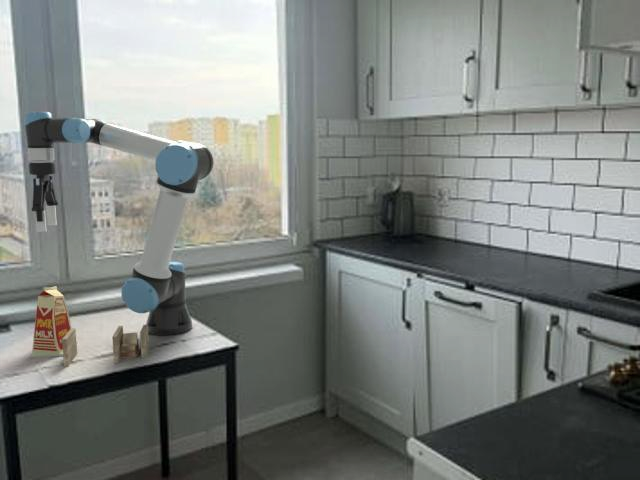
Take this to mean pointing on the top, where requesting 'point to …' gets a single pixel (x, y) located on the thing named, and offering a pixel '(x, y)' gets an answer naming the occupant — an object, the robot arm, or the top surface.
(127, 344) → the offcut top
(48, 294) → the milk carton
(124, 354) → the block
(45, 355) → the mat
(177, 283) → the robot arm
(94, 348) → the top surface
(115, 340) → the rack
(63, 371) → the top surface
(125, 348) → the offcut middle
